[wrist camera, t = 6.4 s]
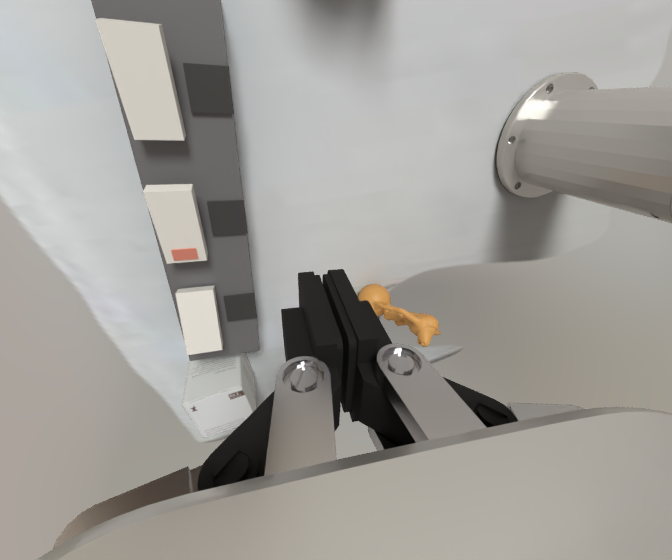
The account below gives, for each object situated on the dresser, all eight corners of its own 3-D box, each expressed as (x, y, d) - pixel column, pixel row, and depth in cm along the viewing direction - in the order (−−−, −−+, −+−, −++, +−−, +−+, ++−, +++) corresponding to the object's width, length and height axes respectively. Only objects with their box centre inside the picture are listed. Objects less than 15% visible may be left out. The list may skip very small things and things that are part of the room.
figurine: (333, 290, 37) (370, 359, 27) (365, 251, 35) (415, 309, 25) (380, 315, 41) (426, 384, 31) (409, 282, 39) (468, 342, 29)
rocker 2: (192, 183, 22) (191, 191, 21) (207, 252, 26) (207, 261, 25) (146, 184, 21) (142, 192, 20) (169, 255, 25) (166, 264, 24)
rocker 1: (161, 24, 17) (158, 25, 17) (186, 134, 21) (184, 140, 20) (101, 18, 17) (94, 18, 16) (138, 134, 21) (134, 139, 20)
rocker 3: (214, 285, 27) (212, 289, 26) (223, 343, 29) (222, 350, 28) (178, 289, 27) (175, 293, 26) (189, 348, 29) (187, 355, 27)
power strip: (206, -139, 18) (198, -197, 15) (258, 327, 36) (260, 352, 33) (67, -171, 17) (21, -246, 13) (194, 336, 34) (189, 363, 31)
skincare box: (208, 387, 39) (203, 440, 33) (189, 354, 36) (179, 406, 29) (255, 372, 40) (258, 421, 34) (240, 338, 36) (241, 386, 30)
